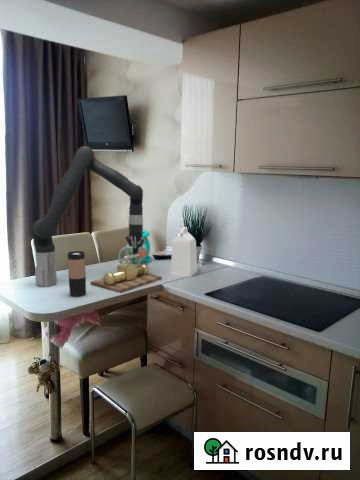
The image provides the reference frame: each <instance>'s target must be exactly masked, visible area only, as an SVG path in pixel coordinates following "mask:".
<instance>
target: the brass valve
mask: <svg viewBox="0 0 360 480" xmlns="http://www.w3.org/2000/svg"><path fill="white" fill-rule="evenodd" d="M136 265H137V264H136V263H135V264H134V263H133V264H131V263H130V262H129V261H128V259H127V260H126V259H125V261H124V263H123V264H120V263H119V264H118V265H116V269H117V272H107V273H105V274H104V275H103V277H102V279H103V282H104V284H105V285H110V286H111V285H114V284H115V283H117V282H120V281H124V280H126V281H128V280H131V279H135V278H137V276H140V275H147V274H149V266H148V264H146V263H140V264H139V265H138V267H136Z"/></svg>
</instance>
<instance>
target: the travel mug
mask: <svg viewBox="0 0 360 480" xmlns="http://www.w3.org/2000/svg"><path fill="white" fill-rule="evenodd" d="M85 257H86V256H85V252H84V251H80V250H78V251H76V250H73V251H69V252H68V253H67V269H68V284H69V285H68V286H69V295H70V297H73V298H80V297H81V298H82V297H85V296H86V294H87V284H86V283H87V281H86V279H87V276H86V275H87V274H86V273H87V272H86V260H85Z"/></svg>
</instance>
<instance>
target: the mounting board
mask: <svg viewBox="0 0 360 480" xmlns="http://www.w3.org/2000/svg"><path fill="white" fill-rule="evenodd" d="M162 279H163V276H161V275H157V274H154V273H153V274H152V273H148V274H147V275H140V276H137V278H135V279H131V280H128V281H126V280H124V281H120V282H117V283H115V284H114V285H111V286H110V285H105V284H104V282H103V278H99V279H96V280H93V281H90V286H94V287H97V288H102V289H104V290H109V291H112V292H115V291H116V293H119V292H120V293H121V294H122V293H125V292H127V291H131V290H134V289H136V288H140V287H143V286H146V285H149V284H151V283H155V282H158V281H161V280H162ZM120 293H119V294H120Z"/></svg>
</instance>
